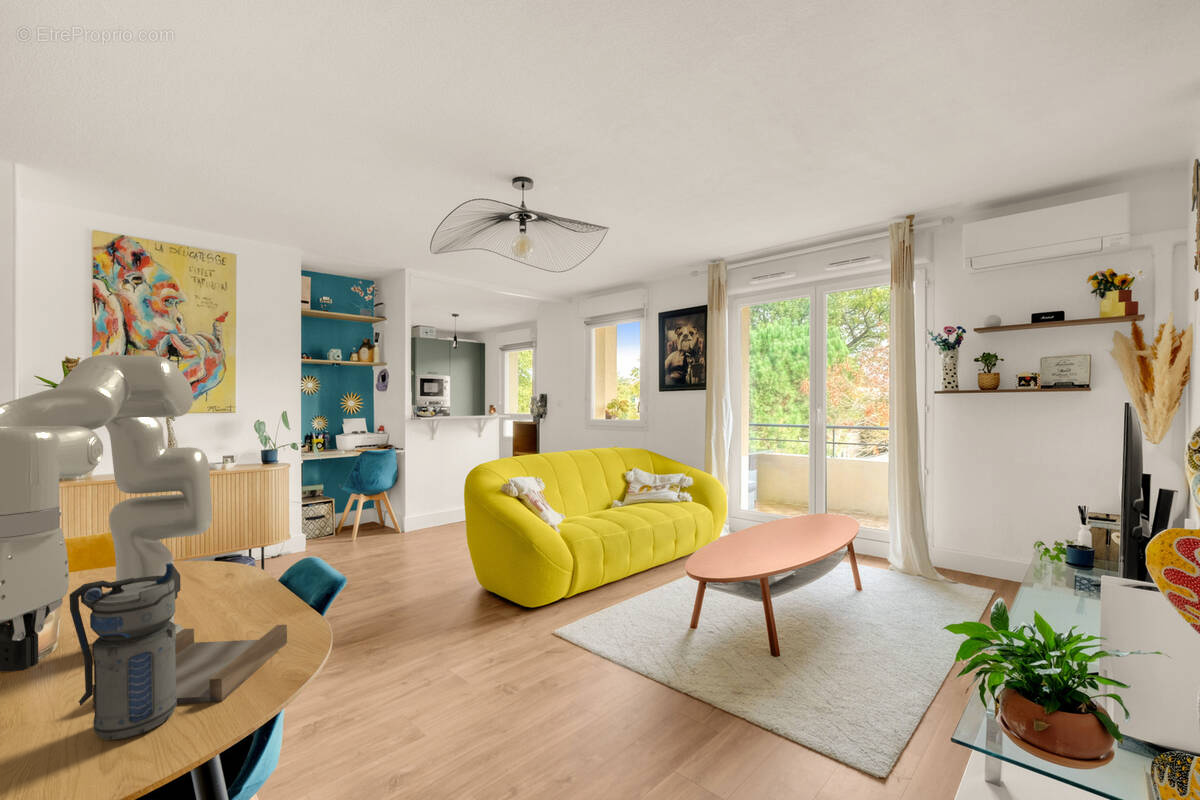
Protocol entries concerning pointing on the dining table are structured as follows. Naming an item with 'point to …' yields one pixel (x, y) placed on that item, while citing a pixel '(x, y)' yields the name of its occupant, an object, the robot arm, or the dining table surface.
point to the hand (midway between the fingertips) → (19, 667)
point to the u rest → (219, 664)
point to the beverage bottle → (129, 652)
